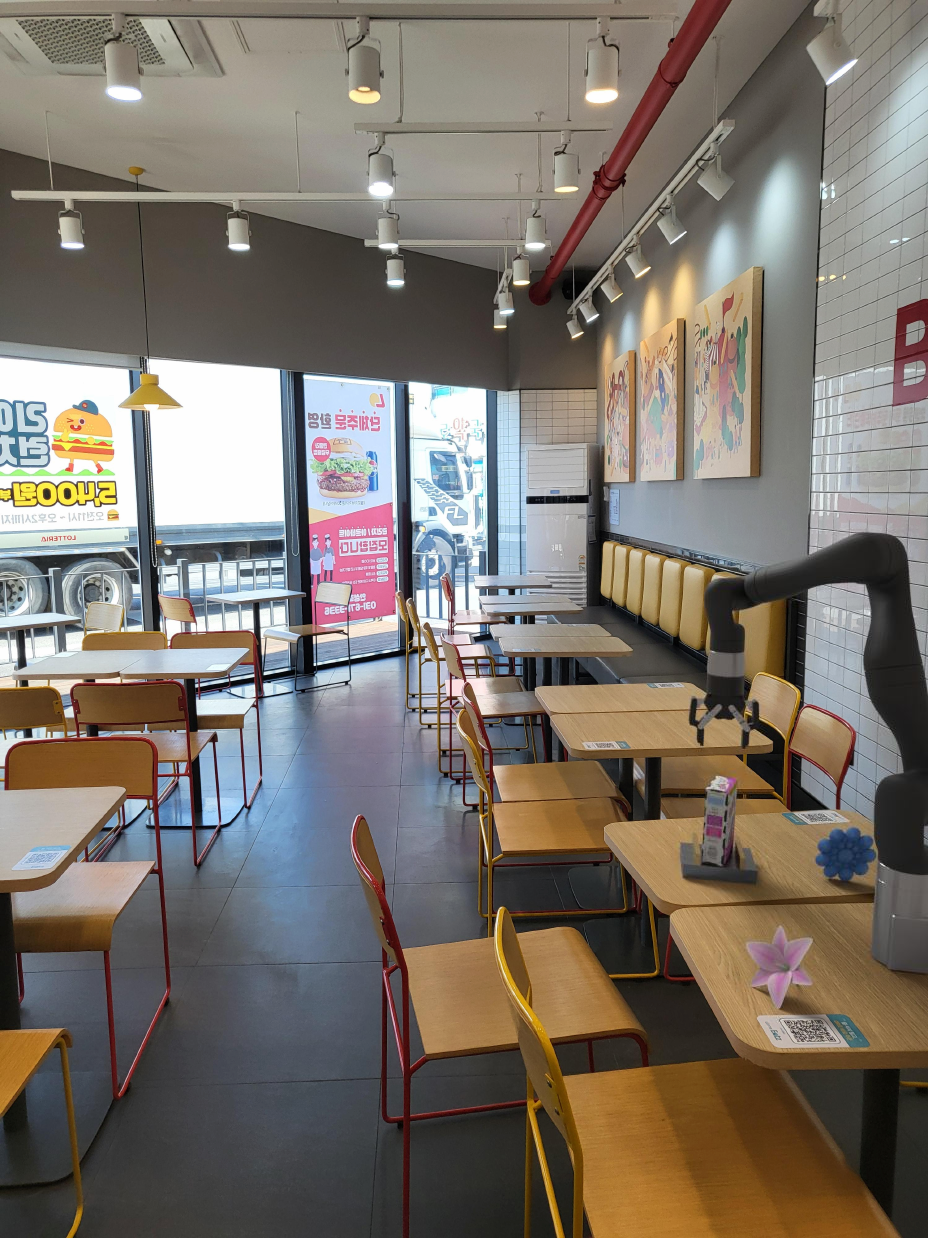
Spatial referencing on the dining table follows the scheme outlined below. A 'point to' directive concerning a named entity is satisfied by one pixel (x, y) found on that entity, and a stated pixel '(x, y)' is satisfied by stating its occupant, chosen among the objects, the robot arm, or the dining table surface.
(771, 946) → the lily
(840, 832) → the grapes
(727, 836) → the candy bar box
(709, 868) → the dock
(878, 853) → the robot arm
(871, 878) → the dining table surface
